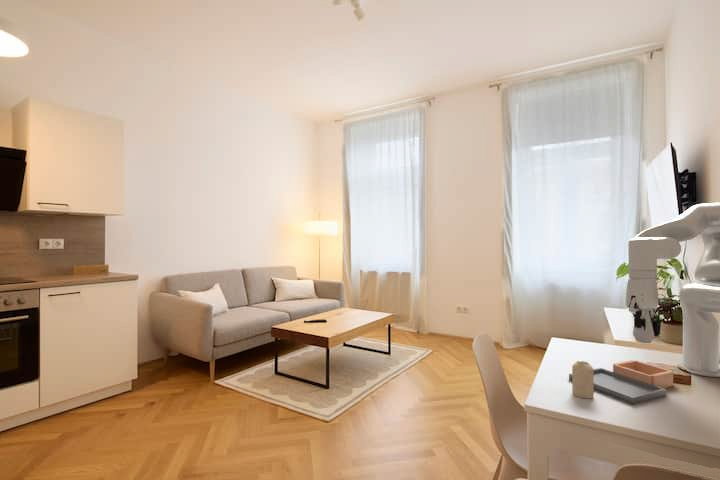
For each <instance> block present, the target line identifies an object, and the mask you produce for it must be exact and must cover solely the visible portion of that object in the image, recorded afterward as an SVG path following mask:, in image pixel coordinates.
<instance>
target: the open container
mask: <svg viewBox="0 0 720 480" xmlns="http://www.w3.org/2000/svg"><path fill="white" fill-rule="evenodd" d="M612 370H613V371H612V372H615V373H618V374H621V375H624V376H627V377H630V378H633V379H636V380H639V381H642V382H645V383H648V384H652V385H655V386H658V387H661V388H664V389H667V388H670V387H673V386H674V370H672V369H668V368H664V367H661V366H658V365H654V364H650V363H647V362H644V361H639V360H636V359H635V360H632V359H631V360H626V361H621V362H616V363H613V364H612Z"/></svg>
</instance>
